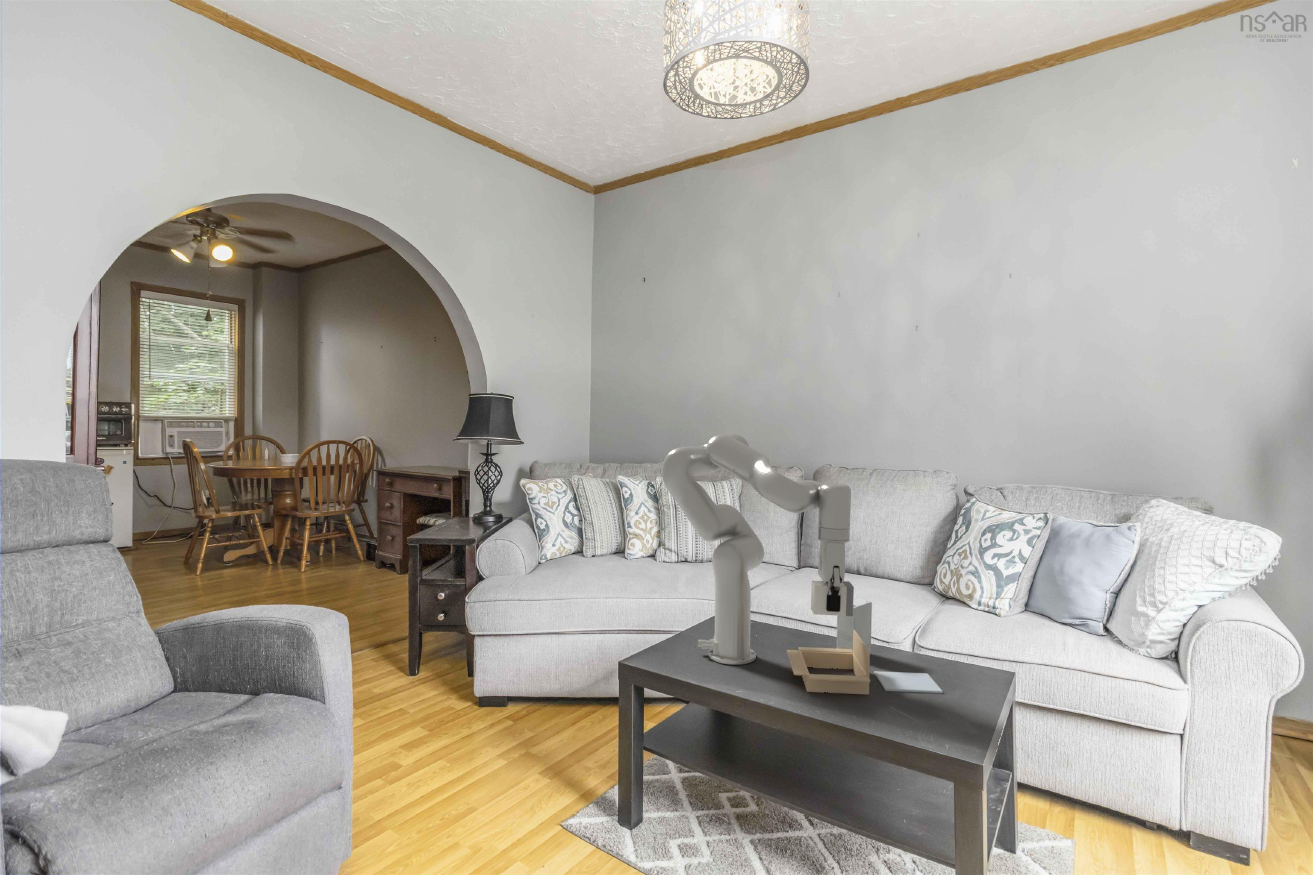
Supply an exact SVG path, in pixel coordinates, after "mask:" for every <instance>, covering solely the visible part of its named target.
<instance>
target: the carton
mask: <svg viewBox="0 0 1313 875" xmlns="http://www.w3.org/2000/svg"><path fill="white" fill-rule="evenodd" d="M786 654H787V656H788V659H789V662H790V667H791V669H792V672H793V675H794V676H801V675H802V676H801V678H803V679H802V681H804V682H803V685H804V686H805V691H806V692H807V693H809V692H810V693H824V692H826V693H827V692H828V693H829V694H850V695H851V694H852V695H870V683H871V678H870V667H871V666H870V663H871V661H870V657H871V654H870V651H869V650H868V649H867V647H866V646H865V644H864V643H863V641H862V640H861V638H860V637H859V635H858V634H857V632H856V631H855V630H853V651H852V649H836V648H832V647H831V648H830V647H829V648H828V647H807V646H804V647H803V646H802V647H801V646H798V649H786ZM807 667H813V668H812V669H830V668H831V669H832V668H833V669H836V670H837V668H838V670H852V669H853V670H852V672H853V673H854V675H840V674H821V673H820V674H818V673H816V674H815V673H810V672H809V669H808V668H807ZM826 693H825V694H826Z"/></svg>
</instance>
